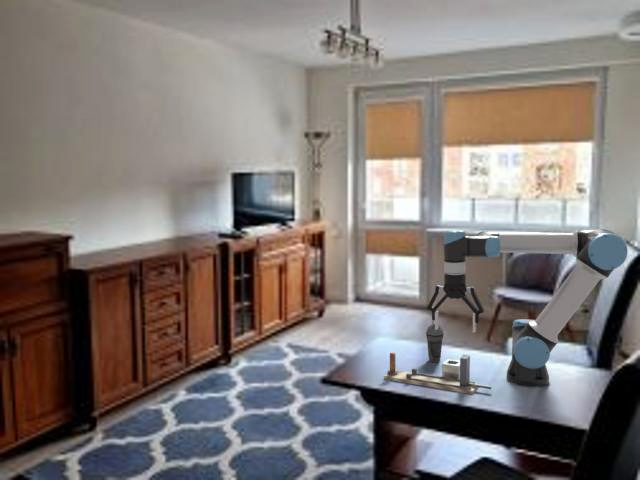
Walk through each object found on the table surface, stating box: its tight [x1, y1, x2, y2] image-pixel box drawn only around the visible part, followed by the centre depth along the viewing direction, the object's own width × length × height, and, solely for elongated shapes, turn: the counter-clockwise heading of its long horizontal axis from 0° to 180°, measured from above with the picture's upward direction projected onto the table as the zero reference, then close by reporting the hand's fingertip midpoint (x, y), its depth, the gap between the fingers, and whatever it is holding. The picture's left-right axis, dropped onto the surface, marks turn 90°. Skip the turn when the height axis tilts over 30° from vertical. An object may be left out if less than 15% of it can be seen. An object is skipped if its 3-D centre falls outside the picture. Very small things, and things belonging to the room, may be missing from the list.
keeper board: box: [383, 352, 479, 395], centre depth 216 cm, size 34×8×9 cm, turn 62°
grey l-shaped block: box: [459, 353, 492, 390], centre depth 208 cm, size 11×5×10 cm, turn 62°
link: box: [441, 358, 460, 380], centre depth 221 cm, size 6×6×6 cm
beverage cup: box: [425, 313, 445, 363], centre depth 240 cm, size 7×7×20 cm
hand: (455, 330), depth 211 cm, fingers open, 13 cm apart
